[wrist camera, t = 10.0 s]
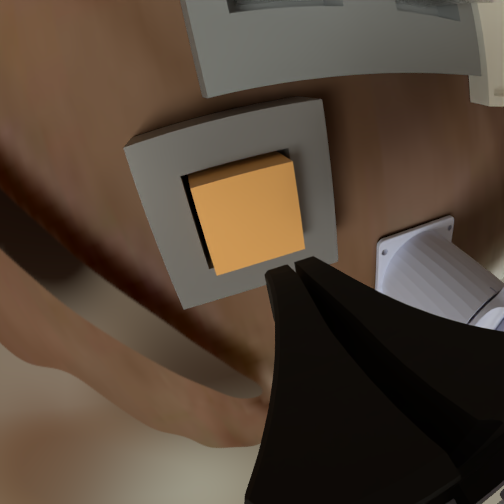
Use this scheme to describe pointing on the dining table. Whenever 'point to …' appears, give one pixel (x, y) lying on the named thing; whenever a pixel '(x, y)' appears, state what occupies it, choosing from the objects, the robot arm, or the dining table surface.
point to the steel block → (439, 2)
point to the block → (257, 1)
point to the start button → (248, 210)
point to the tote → (489, 54)
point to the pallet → (325, 41)
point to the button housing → (220, 152)
